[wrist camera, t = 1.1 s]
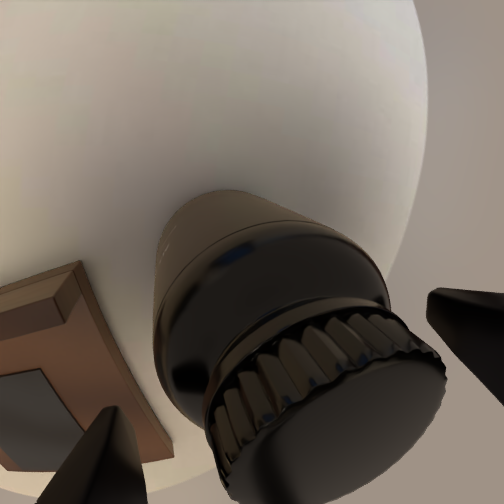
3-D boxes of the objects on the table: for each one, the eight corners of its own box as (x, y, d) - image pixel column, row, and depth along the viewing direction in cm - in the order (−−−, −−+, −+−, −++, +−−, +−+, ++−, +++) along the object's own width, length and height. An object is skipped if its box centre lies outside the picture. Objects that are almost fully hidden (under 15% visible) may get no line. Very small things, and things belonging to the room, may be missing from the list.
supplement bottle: (130, 229, 14) (54, 427, 3) (258, 165, 15) (484, 192, 4) (196, 339, 16) (259, 548, 5) (305, 281, 17) (467, 422, 6)
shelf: (172, 442, 18) (180, 492, 14) (10, 459, 15) (1, 496, 11) (80, 259, 14) (53, 296, 9) (-85, 320, 10) (-115, 351, 6)
